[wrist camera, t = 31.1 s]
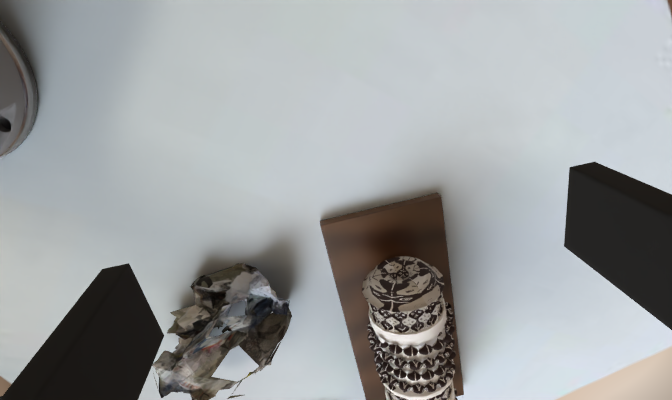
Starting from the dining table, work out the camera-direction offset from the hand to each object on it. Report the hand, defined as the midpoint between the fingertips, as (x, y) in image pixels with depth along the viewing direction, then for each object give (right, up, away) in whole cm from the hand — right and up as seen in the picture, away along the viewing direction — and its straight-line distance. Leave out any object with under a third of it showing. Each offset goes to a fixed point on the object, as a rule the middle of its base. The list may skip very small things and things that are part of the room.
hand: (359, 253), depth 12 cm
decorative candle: (+11, -28, +37) cm, 47 cm away
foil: (-13, -11, +33) cm, 38 cm away
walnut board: (+7, -13, +36) cm, 39 cm away
